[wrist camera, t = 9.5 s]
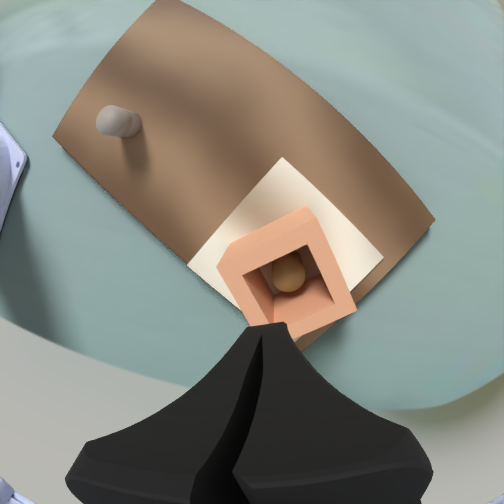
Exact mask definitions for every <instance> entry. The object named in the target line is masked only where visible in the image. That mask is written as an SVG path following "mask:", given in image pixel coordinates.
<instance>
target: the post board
mask: <svg viewBox="0 0 504 504" xmlns="http://www.w3.org/2000/svg"><path fill="white" fill-rule="evenodd" d="M52 137H53V138H54V139H55V140H56V141H57V142H58V143H59V144H60V145H61V146H62V147H63V148H64V149H65V150H66V151H67V152H68V153H69V154H70V155H71V156H72V157H73V158H74V159H75V160H76V161H77V162H78V163H79V164H80V165H81V166H82V167H83V168H84V169H85V170H86V171H87V172H88V173H89V174H90V175H91V176H92V177H93V178H94V179H95V180H96V181H97V182H98V183H99V184H100V185H101V186H102V187H103V188H104V189H106V190H107V191H108V192H109V193H110V194H111V195H112V196H113V197H114V198H115V199H116V200H117V201H118V202H119V203H120V204H121V205H122V206H124V207H125V208H126V209H127V210H128V211H129V212H130V213H131V214H132V215H133V216H134V217H135V218H137V219H138V220H139V221H140V222H141V223H142V224H143V225H144V226H145V227H146V228H148V229H149V230H150V231H151V232H152V233H153V234H154V235H155V236H156V237H158V238H159V239H160V240H161V241H162V242H163V243H164V244H165V245H167V246H168V247H169V248H170V249H171V250H172V251H173V252H174V253H176V254H177V255H178V256H179V257H180V258H181V259H182V260H184V261H185V262H186V263H187V266H188V267H190V268H191V269H192V270H193V271H194V272H195V273H197V274H198V275H199V276H200V277H201V278H202V279H204V280H205V281H206V282H207V283H208V284H210V285H211V286H212V287H213V288H214V289H216V290H217V291H218V292H219V293H220V294H222V295H223V296H224V297H225V298H226V299H228V300H229V301H230V302H231V303H232V304H234V305H235V306H236V307H237V308H239V309H240V307H239V305H238V304H237V302H236V300H235V299H234V297H233V295H232V294H231V292H230V290H229V289H228V287H227V285H226V283H225V282H224V280H223V278H222V277H221V275H220V273H219V271H218V270H217V268H216V266H217V264H218V263H219V261H220V259H221V258H222V256H223V254H224V252H225V251H226V249H227V247H228V246H229V244H230V243H231V242H233V241H235V240H237V239H239V238H241V237H243V236H245V235H247V234H249V233H251V232H253V231H255V230H257V229H259V228H261V227H263V226H265V225H267V224H269V223H271V222H273V221H275V220H277V219H279V218H282V217H284V216H286V215H288V214H290V213H292V212H294V211H296V210H298V209H300V208H302V207H304V206H307V207H308V208H309V209H310V210H311V212H312V213H313V214H314V215H315V216H316V218H317V219H318V222H319V224H320V226H321V228H322V230H323V232H324V234H325V237H326V239H327V241H328V243H329V245H330V248H331V250H332V252H333V254H334V256H335V259H336V261H337V263H338V266H339V268H340V270H341V272H342V275H343V277H344V279H345V282H346V284H347V287H348V289H349V291H350V294H351V296H352V299H353V301H354V304H356V303H357V302H358V301H359V300H361V299H362V298H363V297H364V296H365V295H366V294H367V293H368V292H369V291H370V290H371V289H372V288H373V287H374V286H375V285H376V284H377V283H378V282H379V281H380V280H381V279H382V278H383V277H384V276H385V275H386V274H387V273H388V272H389V271H390V270H391V269H392V268H393V266H394V265H395V264H396V263H397V262H398V261H399V260H400V259H401V258H402V257H403V256H404V255H405V254H406V253H407V252H408V250H409V249H410V248H411V247H412V246H413V245H414V244H415V243H416V242H417V241H418V239H419V238H420V237H421V236H422V235H423V234H424V233H425V231H426V230H427V229H428V228H429V227H430V226H431V225H432V223H433V222H434V221H435V218H434V217H433V216H432V214H431V213H430V212H429V210H428V209H427V208H426V206H425V205H424V204H423V202H422V201H421V200H420V199H419V197H418V196H417V195H416V194H415V192H414V191H413V190H412V189H411V188H410V186H409V185H408V184H407V183H406V182H405V180H404V179H403V178H402V177H401V176H400V175H399V173H398V172H397V171H396V170H395V169H394V168H393V167H392V166H391V164H390V163H389V162H388V161H387V160H386V159H385V158H384V157H383V156H382V155H381V153H380V152H379V151H378V150H377V149H376V148H375V147H374V146H373V145H372V144H371V143H370V142H369V141H368V140H367V139H366V138H365V137H364V136H363V135H362V134H361V133H360V132H359V131H358V130H357V129H356V128H355V127H354V126H353V125H352V124H351V123H350V122H349V121H348V120H347V119H346V118H345V117H344V116H343V115H342V114H340V113H339V112H338V111H337V110H336V109H335V108H334V107H333V106H332V105H331V104H329V103H328V102H327V101H326V100H325V99H324V98H323V97H322V96H320V95H319V94H318V93H317V92H316V91H315V90H313V89H312V88H311V87H310V86H309V85H307V84H306V83H305V82H304V81H302V80H301V79H300V78H299V77H297V76H296V75H295V74H294V73H292V72H291V71H290V70H289V69H287V68H286V67H285V66H283V65H282V64H281V63H279V62H278V61H277V60H275V59H274V58H273V57H271V56H270V55H268V54H267V53H266V52H264V51H263V50H261V49H260V48H259V47H257V46H256V45H254V44H253V43H251V42H250V41H248V40H247V39H245V38H244V37H242V36H241V35H239V34H238V33H236V32H234V31H233V30H231V29H230V28H228V27H226V26H225V25H223V24H222V23H220V22H218V21H216V20H215V19H213V18H211V17H210V16H208V15H206V14H204V13H203V12H201V11H199V10H197V9H195V8H193V7H191V6H190V5H188V4H186V3H184V2H182V1H180V0H156V1H155V2H154V3H153V4H152V5H151V6H150V7H149V8H148V9H147V10H146V11H145V12H144V13H143V14H142V15H141V16H140V17H139V18H138V19H137V20H136V21H135V22H134V23H133V24H132V25H131V26H130V28H129V29H128V30H127V31H126V32H125V33H124V34H123V35H122V37H121V38H120V39H119V40H118V41H117V42H116V44H115V45H114V46H113V47H112V48H111V50H110V51H109V52H108V53H107V55H106V56H105V57H104V58H103V60H102V61H101V62H100V64H99V65H98V66H97V68H96V69H95V70H94V72H93V73H92V74H91V76H90V77H89V78H88V80H87V81H86V83H85V84H84V86H83V87H82V89H81V90H80V91H79V93H78V94H77V96H76V98H75V99H74V101H73V102H72V104H71V105H70V107H69V109H68V110H67V112H66V113H65V115H64V117H63V118H62V120H61V122H60V124H59V125H58V127H57V129H56V131H55V132H54V134H53V136H52ZM259 268H260V270H261V272H262V273H263V275H264V277H265V279H266V281H267V283H268V284H269V286H270V288H271V290H272V292H273V294H274V295H275V294H277V293H280V292H282V291H284V292H292V291H295V290H297V289H299V288H300V287H301V286H302V284H303V283H304V281H306V280H308V279H310V278H312V277H314V276H316V275H318V274H321V272H320V270H319V268H318V266H317V263H316V261H315V259H314V257H313V255H312V253H311V251H310V249H309V247H308V245H307V244H306V245H304V246H302V247H300V248H298V249H296V250H294V251H292V252H290V253H288V254H286V255H284V256H281V257H279V258H277V259H275V260H273V261H271V262H269V263H267V264H265V265H263V266H260V267H259ZM240 310H241V309H240ZM338 320H339V319H338ZM338 320H336V321H334V322H331V323H329V324H327V325H325V326H323V327H320V328H318V329H316V330H313V331H311V332H309V333H306V334H304V335H302V336H299V337H297V338H295V339H293V341H294V343H295V344H296V346H297V347H298V349H299V350H300V352H302V351H304V350H305V349H306V348H307V347H308V346H310V345H311V344H312V343H313V342H314V341H315V340H317V339H318V338H319V337H320V336H321V335H322V334H323V333H325V332H326V331H327V330H328V329H329V328H330V327H331V326H332V325H334V324H335V323H336V322H337V321H338Z"/></svg>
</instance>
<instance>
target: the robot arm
mask: <svg viewBox="0 0 504 504" xmlns="http://www.w3.org/2000/svg"><path fill="white" fill-rule="evenodd" d="M26 161H27V156H26V154H25V152H24V151H23V150H22V149H21V148H20V146H19V145H18V144H17V143H16V141H15V140H14V139H13V138H12V137H11V135H10V134H9V133H8V131H7V130H6V129H5V128H4V126H3V125H2V124H1V122H0V231H1V228H2V225H3V221H4V218H5V215H6V212H7V209H8V206H9V204H10V201H11V198H12V195H13V193H14V190H15V187H16V185H17V182H18V180H19V177H20V175H21V173H22V170H23V168H24V166H25V163H26ZM19 163H20V166H19ZM432 476H433V470H432V467H431V463H430V461H429V458H428V457H427V455H426V453H425V452H424V450H423V448H422V447H421V445H420V443H419V442H418V441H417V439H416V438H415V436H414V435H413V434H412V432H411V431H410V430H409V429H408V428H406V427H404V426H401V425H398V424H396V423H393V422H391V421H389V420H386V419H384V418H382V417H379V416H377V415H375V414H374V413H372V412H370V411H368V410H366V409H365V408H363V407H361V406H360V405H358V404H357V403H355V402H354V401H352V400H351V399H349V398H348V397H346V396H345V395H343V394H342V393H340V392H339V391H338V390H337V389H336V388H334V387H333V386H332V385H331V384H330V383H328V382H327V381H326V380H325V379H324V378H323V377H322V376H321V375H320V374H319V373H318V372H317V371H316V370H315V369H314V368H313V367H312V365H311V364H310V363H309V362H308V361H307V360H306V358H305V357H304V356H303V354H302V353H301V352H300V350H299V349H298V347H297V346H296V344H295V343H294V341H293V339H292V337H291V335H290V333H289V331H288V327H287V324H286V323H285V322H277V323H270V324H264V325H257V326H250V327H247V328H246V329H245V330H244V332H243V333H242V334H241V335H240V337H239V338H238V339H237V340H236V342H235V343H234V344H233V346H232V347H231V348H230V349H229V351H228V352H227V353H226V354H225V355H224V356H223V358H222V359H221V360H220V361H219V362H218V363H217V364H216V365H215V366H214V367H213V368H212V369H211V370H210V372H209V373H208V374H207V375H206V376H205V377H204V378H202V379H201V380H200V381H199V382H198V383H197V384H196V385H195V386H193V387H192V388H191V389H190V390H188V391H187V392H186V393H185V394H184V395H182V396H181V397H180V398H178V399H177V400H175V401H174V402H172V403H171V404H169V405H168V406H166V407H164V408H163V409H161V410H160V411H158V412H157V413H155V414H153V415H151V416H150V417H148V418H146V419H144V420H142V421H140V422H138V423H136V424H134V425H132V426H130V427H127V428H125V429H123V430H120V431H118V432H115V433H112V434H109V435H107V436H104V437H101V438H98V439H95V440H92V441H88V442H86V444H85V445H84V447H83V448H82V450H81V452H80V454H79V455H78V457H77V459H76V460H75V462H74V464H73V465H72V467H71V469H70V470H69V472H68V474H67V475H66V477H65V481H66V485H67V487H68V488H69V490H70V491H71V493H73V494H74V495H75V497H77V498H78V499H79V500H80V501H81V502H82V503H83V504H421V500H420V499H421V498H422V496H423V494H424V492H425V491H426V489H427V487H428V485H429V483H430V482H431V480H432ZM0 504H36V503H34V502H32V501H31V500H29V499H27V498H26V497H24V496H22V495H21V494H19V493H17V492H15V491H14V490H13V488H12V487H11V486H10V485H9V484H8V483H7V482H6V481H5V480H4V479H2V478H1V477H0ZM487 504H504V494H502V495H501V496H499V497H497V498H496V499H494V500H492V501H491V502H489V503H487Z"/></svg>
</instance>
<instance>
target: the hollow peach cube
mask: <svg viewBox="0 0 504 504" xmlns="http://www.w3.org/2000/svg"><path fill="white" fill-rule="evenodd" d="M306 244H307V245H308V247H309V249H310V251H311V253H312V255H313V257H314V259H315V261H316V263H317V266H318V268H319V270H320V272H321V274H318V275H316V276H314V277H312V278H310V279H308V280H306V281H304V283H303V284H302V286H301V287H300V288H299V289H297V290H295V291H292V292H284V291H282V292H280V293H277V294H275V295H274V294H273V292H272V290H271V288H270V286H269V284H268V283H267V281H266V279H265V277H264V275H263V273H262V272H261V270H260V268H259V267H260V266H263V265H265V264H267V263H269V262H271V261H273V260H275V259H277V258H279V257H281V256H284V255H286V254H288V253H290V252H292V251H294V250H296V249H298V248H300V247H302V246H304V245H306ZM216 268H217V270H218V271H219V273H220V275H221V277H222V278H223V280H224V282H225V283H226V285H227V287H228V289H229V290H230V292H231V294H232V295H233V297H234V299H235V300H236V302H237V304H238V305H239V307H240V309H241V311H242V312H243V314H244V316H245V317H246V319H247V321H248V322H249V324H250V325H251V326H257V325H264V324H270V323H277V322H285V323H286V324H287V327H288V331H289V333H290V335H291V337H292V339H295V338H297V337H299V336H302V335H304V334H306V333H309V332H311V331H313V330H316V329H318V328H320V327H323V326H325V325H327V324H329V323H331V322H334V321H336V320H338V319H340V318H342V317H345V316H347V315H349V314H351V313H353V312H355V311H357V308H356V306H355V304H354V301H353V299H352V296H351V294H350V291H349V289H348V287H347V284H346V282H345V279H344V277H343V275H342V272H341V270H340V268H339V266H338V263H337V261H336V259H335V256H334V254H333V252H332V250H331V248H330V245H329V243H328V241H327V239H326V237H325V234H324V232H323V230H322V228H321V226H320V224H319V222H318V219H317V218H316V216H315V215H314V214H313V213H312V212H311V210H310V209H309V208H308V207H307V206H304V207H302V208H300V209H298V210H296V211H294V212H292V213H290V214H288V215H286V216H284V217H282V218H279V219H277V220H275V221H273V222H271V223H269V224H267V225H265V226H263V227H261V228H259V229H257V230H255V231H253V232H251V233H249V234H247V235H245V236H243V237H241V238H239V239H237V240H235V241H233V242H231V243H230V244H229V246H228V247H227V249H226V251H225V252H224V254H223V256H222V258H221V259H220V261H219V263H218V264H217V266H216Z"/></svg>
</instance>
